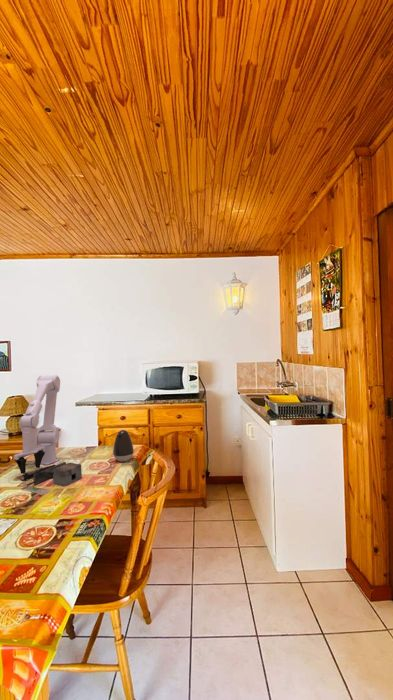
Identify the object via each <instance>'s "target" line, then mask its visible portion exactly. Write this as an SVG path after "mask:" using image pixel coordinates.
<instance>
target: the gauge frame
mask: <svg viewBox="0 0 393 700" xmlns="http://www.w3.org/2000/svg"><path fill="white" fill-rule="evenodd" d="M82 472H83V471H82V464H80V463H74V462H66V464H65V465H63V466H60V467H58V468H56V469H53V477H52V479H53V481H52V483H53V485H57V486H61V487H68V486H69V485H71V484H73V483H75V482H77V481H79V480H81V479H82V477H83V475H82ZM71 475H72V476H71ZM20 490H21V491H25V492H29V493H34V494H38V495H42V496H43V495H46V494H48V493H50V492H51V490H49V489H46V488H41V487H36V486H31V485H29V486H27V485H26V486H24V487H21V488H20Z"/></svg>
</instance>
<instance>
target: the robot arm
mask: <svg viewBox="0 0 393 700" xmlns="http://www.w3.org/2000/svg"><path fill="white" fill-rule="evenodd" d="M60 388H61V379H60V377H59V376H58V375H39V376H38V377H37V379H36V391H35V395H34V398H33V400H31V401H30V402H29V403H28V406H27V408H26V411H25V413H24V415H23V416H21V417H20V418H19V422H18V425H19V427H20V432H21V433H22V435H21V436H22V451H20V452H18V453H16V454H14V455H13V461H14V462H15V463H16V464H17V466H18V469H19V471H20V474H21V475H23V474H25V473H27V472H26V469H27V468H26V466H27V465H26V464H27V458H26V457H28V456H31V455H33V457H34V464H35V465H34V466H35V468H37V469H41V465H46V466H48V465H50V464H51V465H52V464H53V463H56V462H58V461H61V458H57V449H56V447H57V443H58V442H59V440H60V432H59V431H60V429H59V428H58V427H57V426H56V425H55V416H56V406H57V399H58V397H57V396H58V393H59V392H60ZM44 398H45V404H44V413H43V423H42V425H41V426H40V427H39V428H38V429H37V427H38V425H39V422H40V413H41V410H42V408H43V404H42V402H43V400H44Z"/></svg>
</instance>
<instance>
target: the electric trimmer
mask: <svg viewBox="0 0 393 700" xmlns="http://www.w3.org/2000/svg"><path fill="white" fill-rule="evenodd" d="M55 465H56V464H51V465H49V466H48V465H47V466H46V467H42V468H41V467H40V468H38V469H35V470H34V471H33V470H32V471H31V472H25V474H21V476H20V478H19V481H20V482H26V481H28V480H30V479H33V475H34V474H36V473H38V472H41V471H43V470H46V469H48V468H50V467H53V466H55Z"/></svg>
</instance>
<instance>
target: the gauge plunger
mask: <svg viewBox="0 0 393 700" xmlns="http://www.w3.org/2000/svg"><path fill="white" fill-rule="evenodd" d="M65 464H67V462H66V461H62V462H60V463H57V464H54V465H55V466H53V467H50V468H48V469H46V470H43V471H41V472H38V473H36V474H34V475H33V478H32V480H33V481H31V482H30V483H28V484H26V486H31V485H38V484H40V483H42V482H45V481H46V480H49V479H51V478H53V469H56V468H58V467H60V466H63V465H65ZM71 476H72V475H71Z"/></svg>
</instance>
